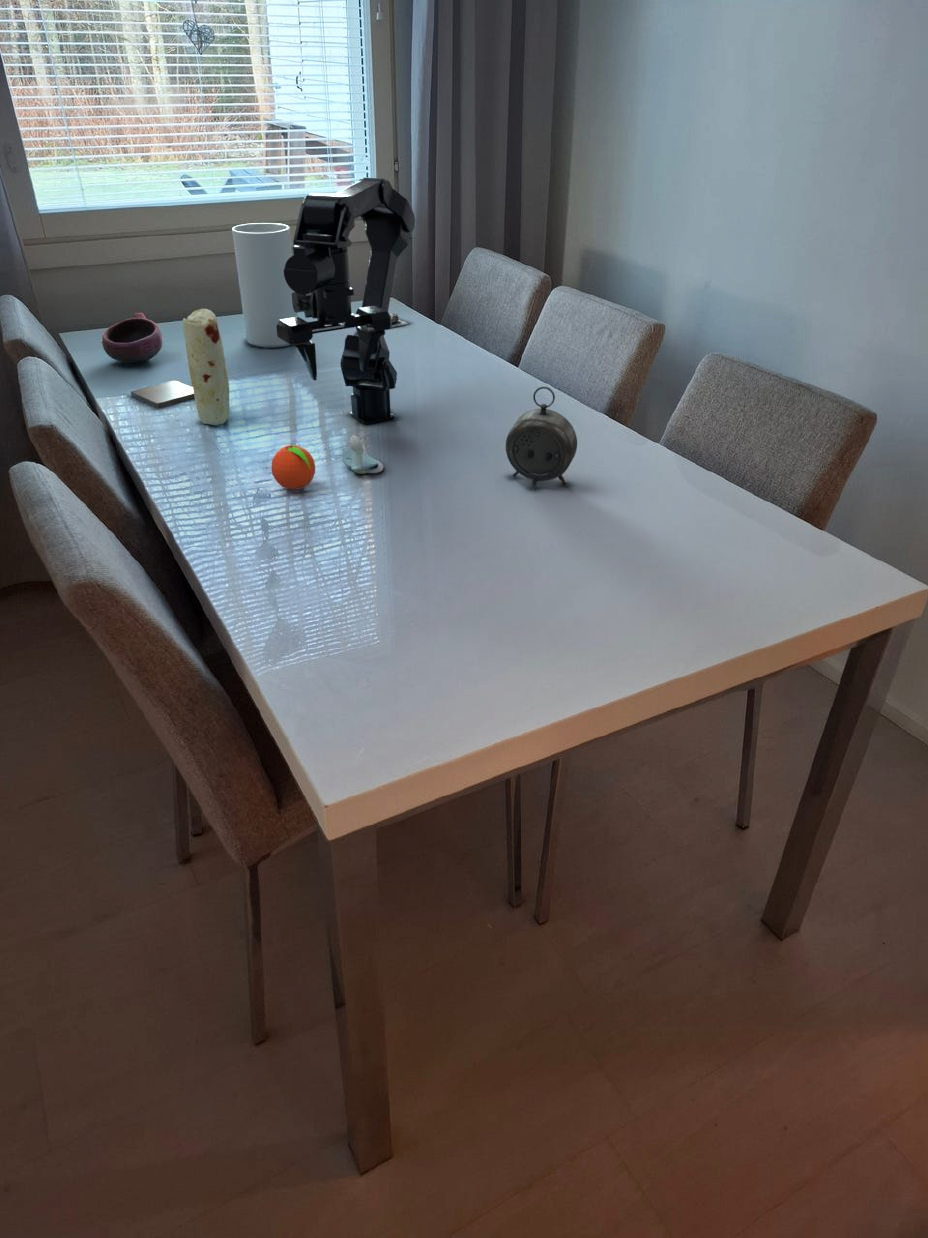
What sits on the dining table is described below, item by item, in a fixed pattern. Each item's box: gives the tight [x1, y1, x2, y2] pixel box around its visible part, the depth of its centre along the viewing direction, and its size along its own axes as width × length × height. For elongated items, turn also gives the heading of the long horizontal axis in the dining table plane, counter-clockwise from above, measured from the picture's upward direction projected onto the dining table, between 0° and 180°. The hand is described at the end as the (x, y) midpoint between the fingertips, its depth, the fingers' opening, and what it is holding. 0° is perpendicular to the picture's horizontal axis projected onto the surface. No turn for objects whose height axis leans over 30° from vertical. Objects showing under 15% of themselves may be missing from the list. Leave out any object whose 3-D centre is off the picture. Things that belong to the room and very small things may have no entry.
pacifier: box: [341, 434, 384, 475], centre depth 144 cm, size 7×6×6 cm
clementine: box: [270, 444, 316, 491], centre depth 137 cm, size 8×7×7 cm
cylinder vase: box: [231, 222, 299, 349], centre depth 200 cm, size 12×12×25 cm
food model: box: [182, 308, 231, 426], centre depth 159 cm, size 10×7×20 cm
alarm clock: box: [505, 385, 578, 490], centre depth 137 cm, size 11×5×16 cm, turn 71°
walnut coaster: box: [130, 379, 195, 409], centre depth 175 cm, size 10×10×1 cm
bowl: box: [101, 312, 164, 364], centre depth 193 cm, size 16×13×8 cm
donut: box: [388, 312, 409, 328], centre depth 220 cm, size 8×8×2 cm
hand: (338, 375), depth 149 cm, fingers open, 9 cm apart
